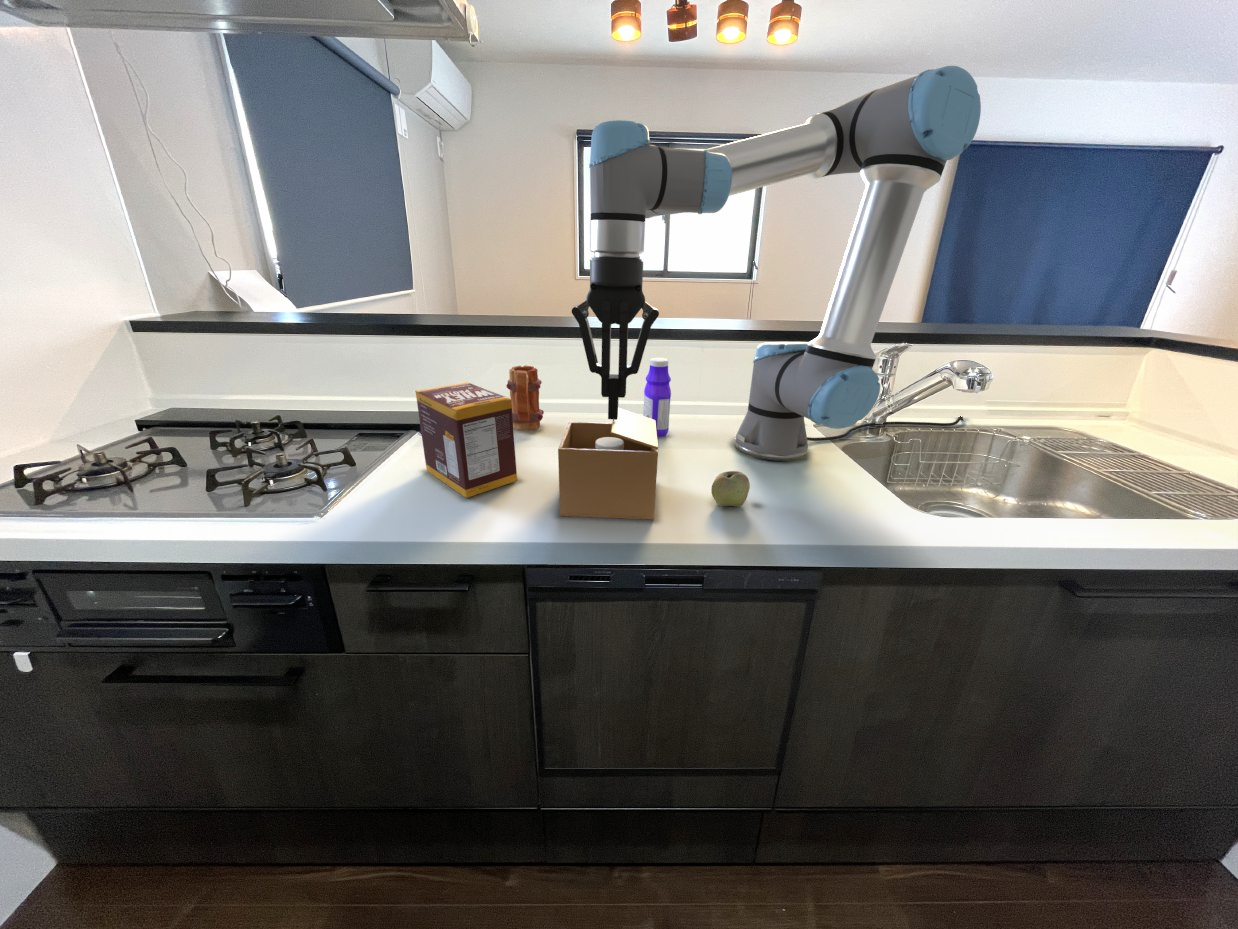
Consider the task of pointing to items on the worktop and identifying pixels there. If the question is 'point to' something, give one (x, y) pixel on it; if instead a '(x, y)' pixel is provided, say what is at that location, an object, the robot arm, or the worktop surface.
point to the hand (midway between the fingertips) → (613, 416)
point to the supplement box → (467, 437)
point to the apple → (730, 488)
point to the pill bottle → (609, 443)
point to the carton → (605, 475)
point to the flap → (635, 428)
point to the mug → (525, 397)
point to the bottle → (658, 395)
